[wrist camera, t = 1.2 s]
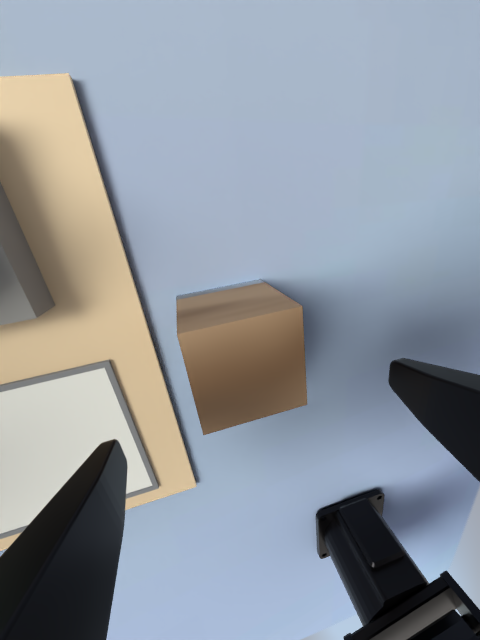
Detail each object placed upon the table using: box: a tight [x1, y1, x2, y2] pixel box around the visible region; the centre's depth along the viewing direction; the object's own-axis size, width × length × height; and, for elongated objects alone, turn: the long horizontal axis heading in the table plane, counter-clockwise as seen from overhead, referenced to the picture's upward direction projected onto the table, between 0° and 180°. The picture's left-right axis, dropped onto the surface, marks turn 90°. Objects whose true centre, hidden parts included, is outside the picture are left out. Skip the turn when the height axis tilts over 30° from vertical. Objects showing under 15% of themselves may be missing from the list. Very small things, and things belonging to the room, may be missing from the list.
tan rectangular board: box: [0, 73, 196, 551], centre depth 12 cm, size 22×14×1 cm, turn 8°
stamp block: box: [176, 279, 307, 435], centre depth 12 cm, size 4×4×5 cm
